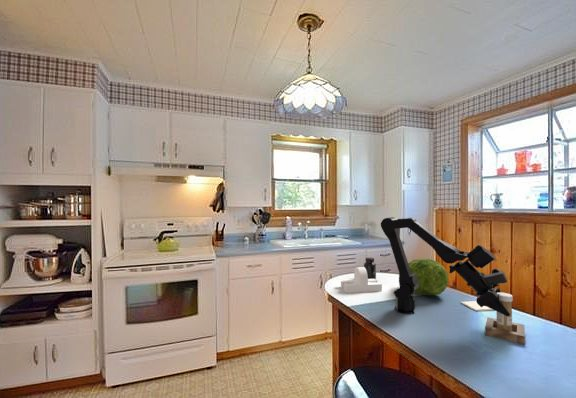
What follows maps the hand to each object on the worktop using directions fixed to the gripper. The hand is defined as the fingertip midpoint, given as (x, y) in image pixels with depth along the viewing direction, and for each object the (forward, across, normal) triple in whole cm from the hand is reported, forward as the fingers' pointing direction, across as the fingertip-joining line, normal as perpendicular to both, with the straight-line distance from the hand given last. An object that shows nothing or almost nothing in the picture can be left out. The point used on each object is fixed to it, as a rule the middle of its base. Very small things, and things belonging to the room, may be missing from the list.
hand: (509, 313), depth 99 cm
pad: (-3, +23, +13) cm, 27 cm away
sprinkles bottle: (+4, 0, +6) cm, 7 cm away
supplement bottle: (-40, +36, +52) cm, 75 cm away
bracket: (-37, +16, +49) cm, 64 cm away
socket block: (+4, 0, +6) cm, 7 cm away
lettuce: (-19, +28, +30) cm, 45 cm away
